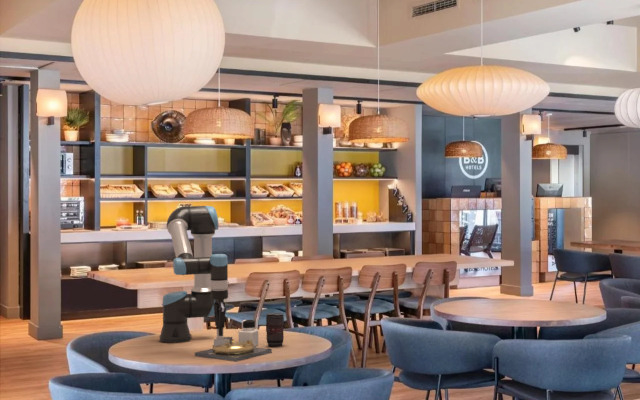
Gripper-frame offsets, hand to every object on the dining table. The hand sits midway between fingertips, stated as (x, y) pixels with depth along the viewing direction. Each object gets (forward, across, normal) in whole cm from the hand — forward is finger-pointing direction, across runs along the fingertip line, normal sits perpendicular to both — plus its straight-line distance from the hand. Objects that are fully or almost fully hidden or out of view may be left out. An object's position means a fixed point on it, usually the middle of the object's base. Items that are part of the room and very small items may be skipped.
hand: (220, 342), depth 404 cm
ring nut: (+4, -1, -6) cm, 7 cm away
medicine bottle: (+6, +17, -18) cm, 25 cm away
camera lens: (+6, +11, -29) cm, 31 cm away
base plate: (+5, -1, -6) cm, 8 cm away
